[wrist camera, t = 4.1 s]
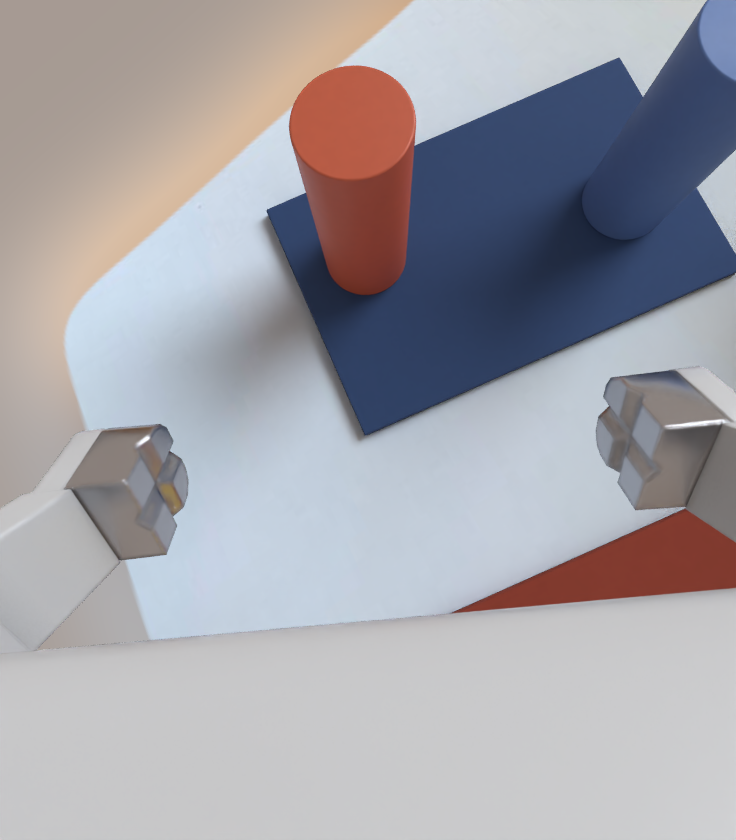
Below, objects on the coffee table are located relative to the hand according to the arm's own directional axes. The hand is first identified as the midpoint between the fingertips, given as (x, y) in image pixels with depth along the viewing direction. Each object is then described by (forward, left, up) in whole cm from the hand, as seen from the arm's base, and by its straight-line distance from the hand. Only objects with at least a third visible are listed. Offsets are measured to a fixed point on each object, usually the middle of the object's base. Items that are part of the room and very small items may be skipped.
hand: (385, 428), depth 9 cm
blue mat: (+11, +9, -16) cm, 21 cm away
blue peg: (+18, +8, -16) cm, 25 cm away
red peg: (+4, +11, -16) cm, 20 cm away
